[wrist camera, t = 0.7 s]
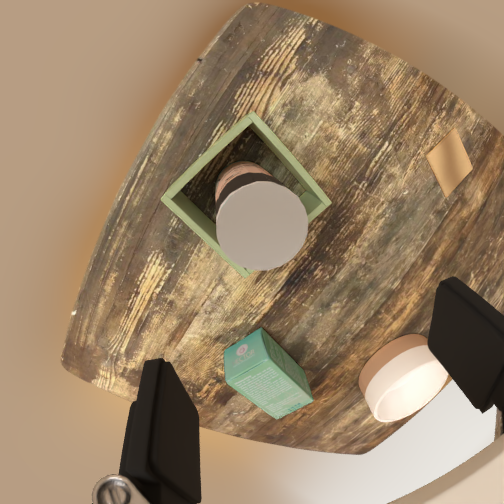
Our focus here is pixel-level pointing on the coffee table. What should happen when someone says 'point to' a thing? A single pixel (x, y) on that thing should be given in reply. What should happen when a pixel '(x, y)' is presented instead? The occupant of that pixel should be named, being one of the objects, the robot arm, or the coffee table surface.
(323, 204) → the crate
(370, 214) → the coffee table surface
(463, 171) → the coaster
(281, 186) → the grey printed cylinder
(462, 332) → the robot arm
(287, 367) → the box
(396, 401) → the bowl
